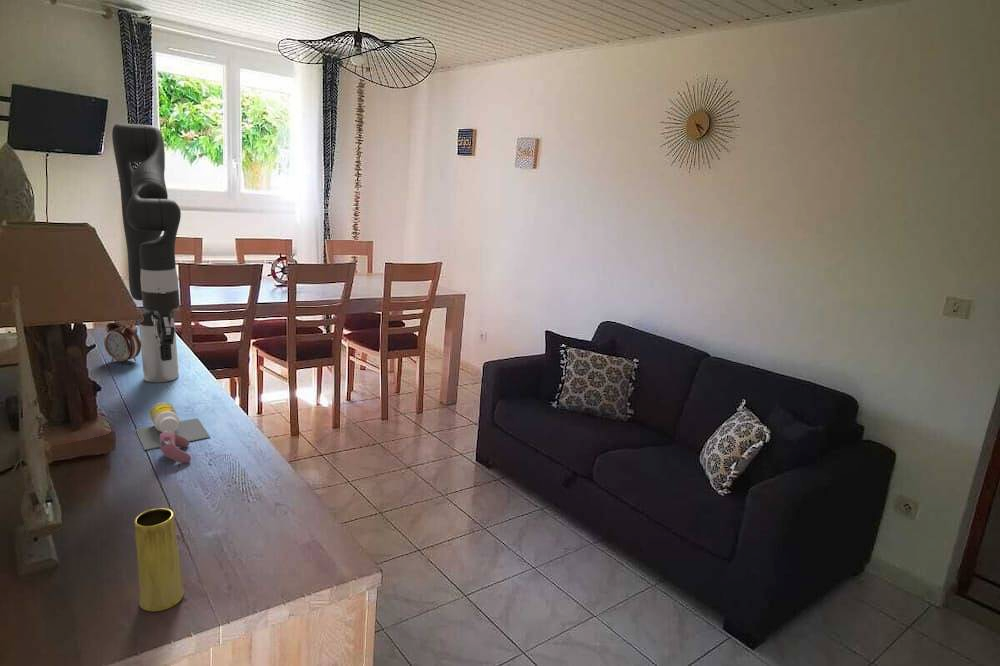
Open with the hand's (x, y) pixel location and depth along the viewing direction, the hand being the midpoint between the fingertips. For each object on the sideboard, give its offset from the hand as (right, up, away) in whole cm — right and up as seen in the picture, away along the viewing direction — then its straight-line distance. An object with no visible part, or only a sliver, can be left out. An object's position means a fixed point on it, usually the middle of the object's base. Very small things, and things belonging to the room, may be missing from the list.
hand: (166, 359), depth 148 cm
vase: (+26, -35, -51) cm, 67 cm away
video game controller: (+5, -22, -6) cm, 23 cm away
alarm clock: (-41, -3, +52) cm, 67 cm away
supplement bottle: (-6, -14, +9) cm, 18 cm away
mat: (-1, -18, +4) cm, 19 cm away
